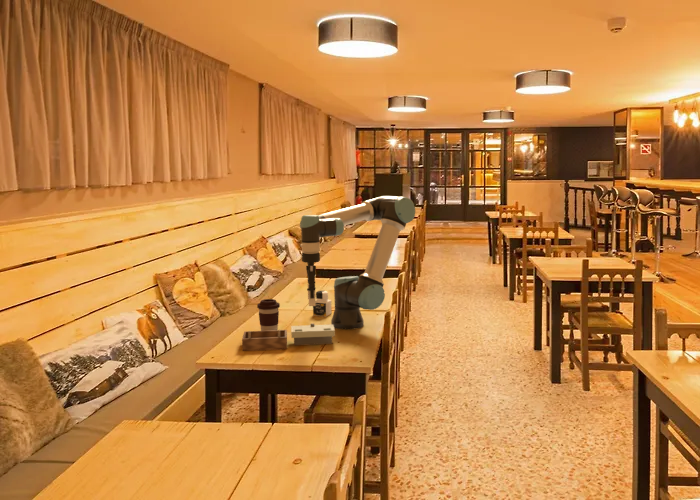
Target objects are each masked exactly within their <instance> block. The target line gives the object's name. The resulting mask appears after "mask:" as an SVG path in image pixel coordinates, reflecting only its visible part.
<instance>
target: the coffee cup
mask: <svg viewBox="0 0 700 500" xmlns="http://www.w3.org/2000/svg"><path fill="white" fill-rule="evenodd" d="M256 305H257V307H256V308H257V309H258V319H259V320H258V321H259V325H260V331H270V330H279V329H278V326H279V318H280V317H279V315H280V311H279V308H280V306H281V304H280V303H279V302H278V301H277V300H276V299H275V298H274V299H273V298H267V299H266V298H265V299H262V300H260V302H259V303H257V304H256Z"/></svg>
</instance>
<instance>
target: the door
mask: <svg viewBox="0 0 700 500" xmlns="http://www.w3.org/2000/svg"><path fill="white" fill-rule="evenodd" d="M290 328H291V329H290V330H291V333H290V334H291V335H290V336H291V339H294V338H302V337H327V336H332V337H335V336H336V330H335V329H336V328H334V325H333V324H331V323H330V324H315V323H310V324H309V325H291V326H290Z"/></svg>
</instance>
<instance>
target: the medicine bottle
mask: <svg viewBox="0 0 700 500" xmlns="http://www.w3.org/2000/svg"><path fill="white" fill-rule="evenodd" d="M315 303H316V306H312V315H313V316H314V317H315V316H316V317H325V318H326V317H328V316H330V315H332V311H333V310H332V299H329V292H328V291H326V290H318V291H315Z"/></svg>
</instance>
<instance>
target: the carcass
mask: <svg viewBox="0 0 700 500" xmlns="http://www.w3.org/2000/svg"><path fill="white" fill-rule="evenodd" d="M242 335H243V336H242V338H241V341H242V342H241V343H242V346H241V347H242V352H251V351H253V352H254V351H274V350H275V351H276V350H280V351H281V350H288V330H287V329H278V330H270V331H261V330H248V331H247V330H246V331H244V330H243V334H242Z"/></svg>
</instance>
